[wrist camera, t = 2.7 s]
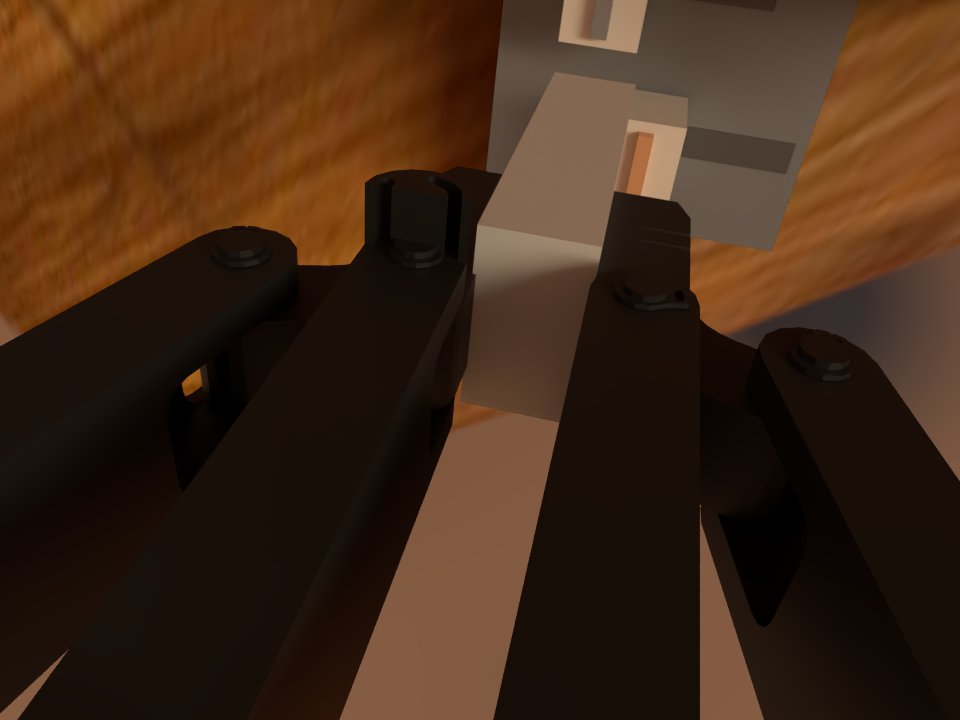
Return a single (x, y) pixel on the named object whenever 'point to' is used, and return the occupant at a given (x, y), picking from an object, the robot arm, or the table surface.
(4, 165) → the table surface
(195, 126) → the table surface
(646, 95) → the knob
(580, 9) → the knob mid
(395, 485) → the robot arm
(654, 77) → the switch unit
